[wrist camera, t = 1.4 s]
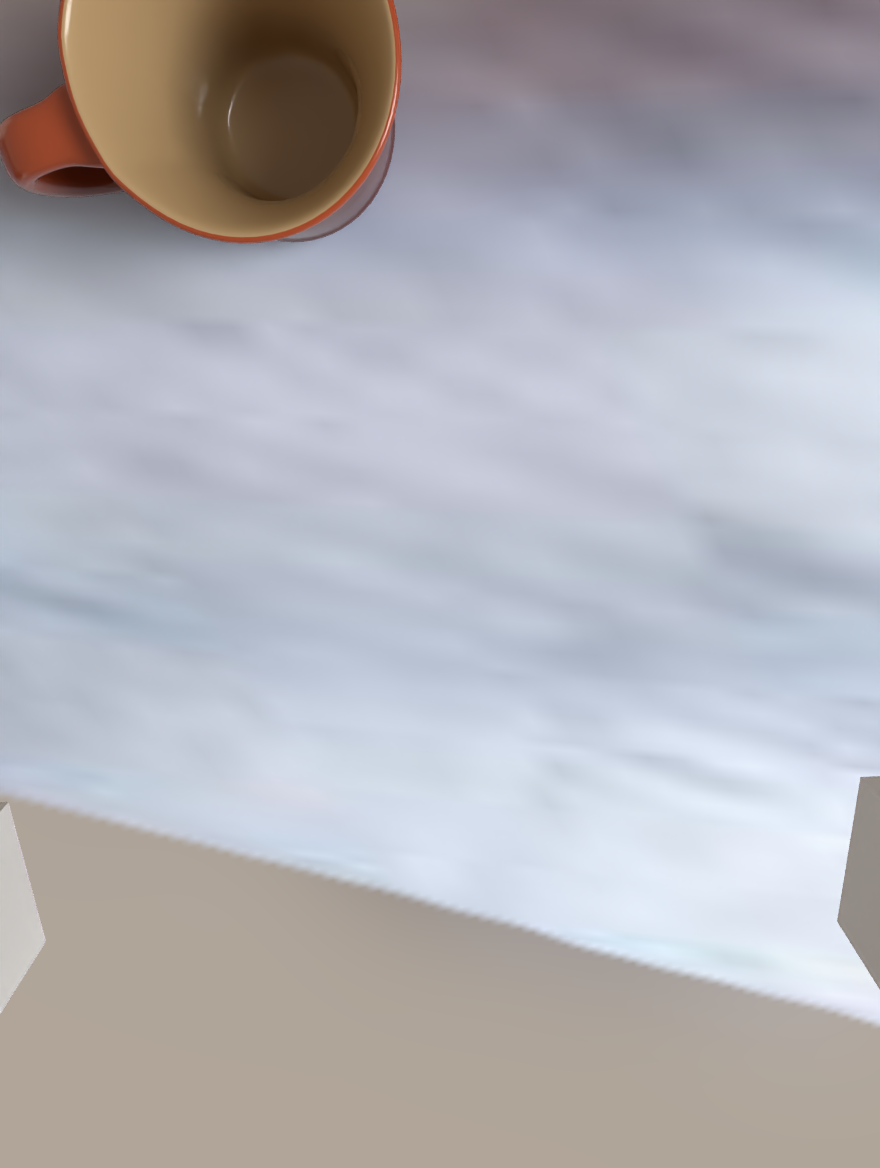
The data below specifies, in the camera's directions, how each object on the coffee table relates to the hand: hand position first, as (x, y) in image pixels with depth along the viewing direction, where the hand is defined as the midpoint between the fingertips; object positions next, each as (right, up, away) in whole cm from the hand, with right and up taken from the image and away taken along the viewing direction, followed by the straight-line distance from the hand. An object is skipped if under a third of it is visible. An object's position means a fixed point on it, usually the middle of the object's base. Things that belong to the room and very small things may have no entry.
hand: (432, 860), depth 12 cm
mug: (-7, +21, +18) cm, 28 cm away
